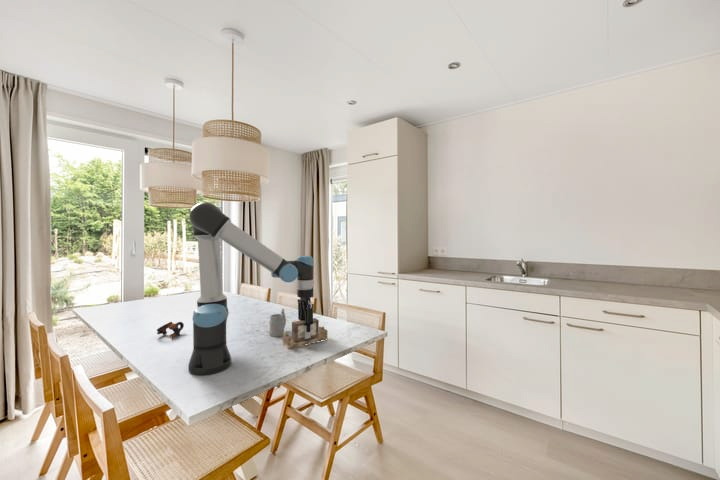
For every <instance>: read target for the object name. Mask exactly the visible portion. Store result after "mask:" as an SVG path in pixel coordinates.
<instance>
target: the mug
mask: <svg viewBox="0 0 720 480" xmlns="http://www.w3.org/2000/svg"><path fill="white" fill-rule="evenodd" d="M286 322H287V319H286V314H285V308H281V312H280V313H273V314H271V315H270V317H269V330H268V333H269V336H270V337H272V336H273V337H272V338H274V337H276V338H278V337H281V336H282V337H283V334H285V328H286V324H287V323H286Z"/></svg>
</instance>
